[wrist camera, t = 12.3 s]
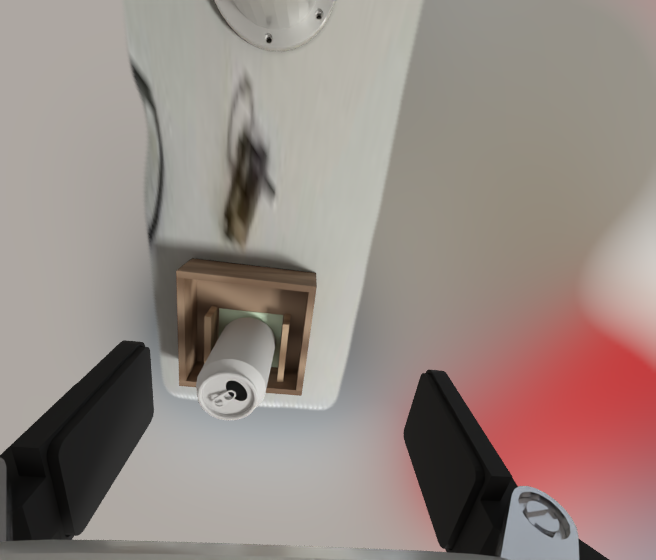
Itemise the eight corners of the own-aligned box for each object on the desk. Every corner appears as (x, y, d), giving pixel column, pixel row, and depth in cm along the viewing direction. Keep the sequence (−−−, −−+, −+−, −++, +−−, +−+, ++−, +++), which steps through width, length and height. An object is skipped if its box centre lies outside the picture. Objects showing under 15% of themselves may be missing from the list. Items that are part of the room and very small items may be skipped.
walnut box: (192, 258, 39) (176, 270, 35) (316, 272, 41) (316, 286, 36) (193, 362, 45) (179, 385, 40) (302, 372, 46) (301, 395, 42)
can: (286, 346, 44) (277, 409, 33) (242, 368, 45) (218, 437, 34) (257, 305, 41) (236, 357, 30) (211, 329, 42) (174, 389, 31)
